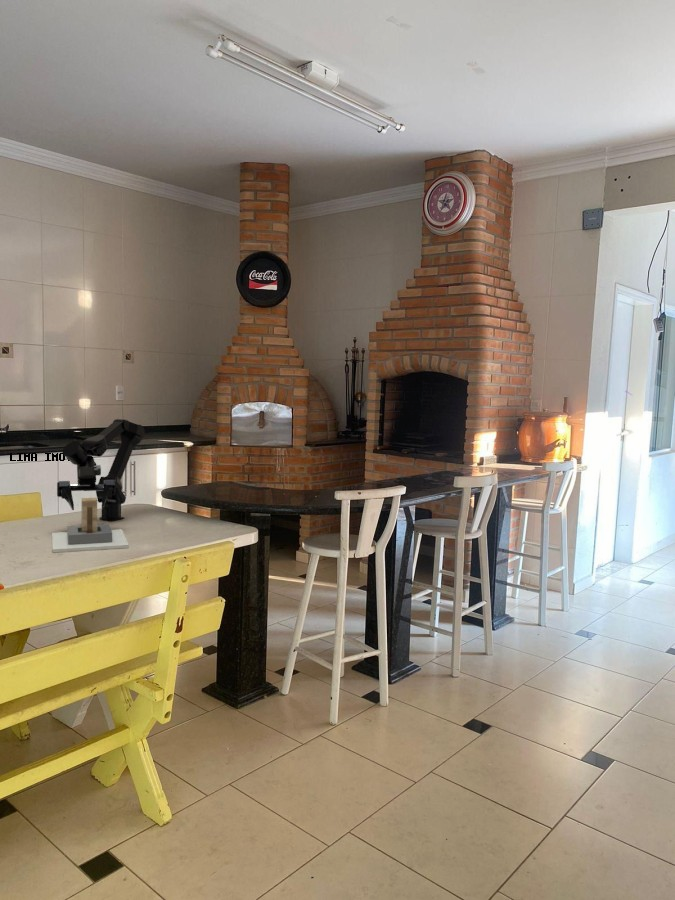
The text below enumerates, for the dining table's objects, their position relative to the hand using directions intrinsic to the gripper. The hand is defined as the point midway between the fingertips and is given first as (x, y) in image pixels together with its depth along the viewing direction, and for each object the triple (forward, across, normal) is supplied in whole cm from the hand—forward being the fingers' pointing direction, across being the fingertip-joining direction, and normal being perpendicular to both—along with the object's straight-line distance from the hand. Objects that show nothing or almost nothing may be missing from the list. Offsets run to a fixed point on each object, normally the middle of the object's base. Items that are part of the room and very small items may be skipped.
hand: (88, 508), depth 227 cm
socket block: (+12, 0, 0) cm, 13 cm away
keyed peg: (+12, 0, -1) cm, 12 cm away
